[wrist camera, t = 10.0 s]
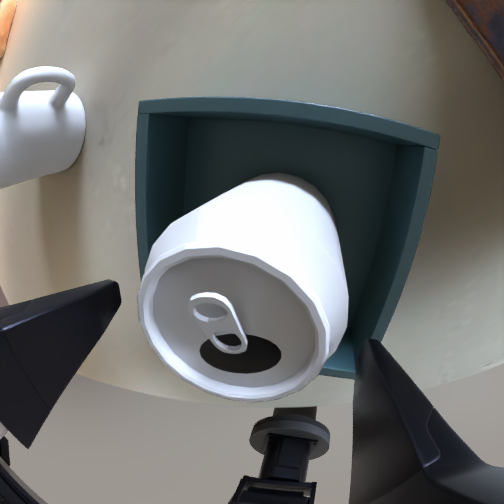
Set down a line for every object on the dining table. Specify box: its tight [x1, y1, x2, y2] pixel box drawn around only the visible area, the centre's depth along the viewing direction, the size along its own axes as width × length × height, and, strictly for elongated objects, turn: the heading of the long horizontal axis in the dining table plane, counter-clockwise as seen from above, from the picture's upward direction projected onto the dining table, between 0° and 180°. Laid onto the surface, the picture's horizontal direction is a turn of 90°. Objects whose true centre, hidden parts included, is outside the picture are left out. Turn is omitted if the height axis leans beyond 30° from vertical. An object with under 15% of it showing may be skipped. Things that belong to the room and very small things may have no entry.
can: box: [137, 172, 349, 402], centre depth 13 cm, size 8×8×12 cm
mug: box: [0, 67, 86, 189], centre depth 14 cm, size 12×8×11 cm
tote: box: [135, 97, 440, 379], centre depth 17 cm, size 16×16×6 cm
